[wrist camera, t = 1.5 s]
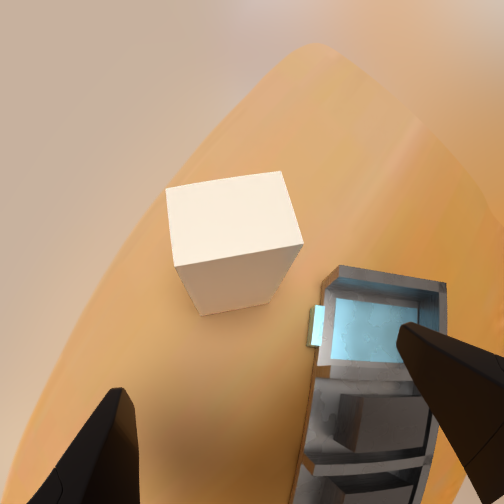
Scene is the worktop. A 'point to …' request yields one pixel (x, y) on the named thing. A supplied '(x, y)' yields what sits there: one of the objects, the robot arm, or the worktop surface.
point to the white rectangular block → (232, 239)
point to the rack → (367, 392)
